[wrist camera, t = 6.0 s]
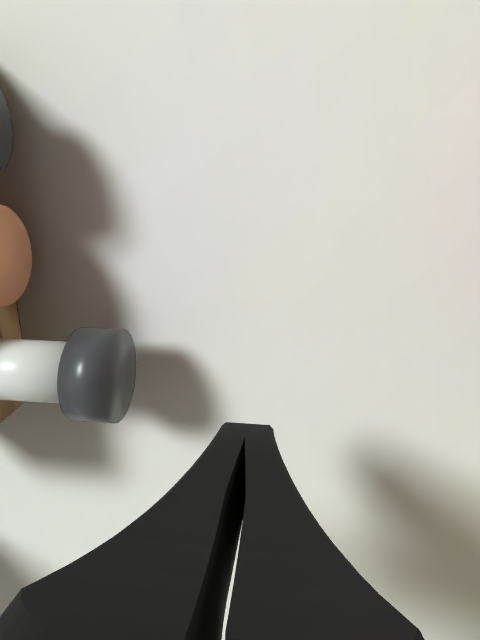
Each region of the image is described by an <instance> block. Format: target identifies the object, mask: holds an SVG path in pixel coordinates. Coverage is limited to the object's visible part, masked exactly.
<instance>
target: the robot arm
mask: <svg viewBox="0 0 480 640" xmlns="http://www.w3.org/2000/svg"><path fill="white" fill-rule="evenodd" d="M242 520H243V523H242ZM241 525H242V530H241ZM240 530H241V538H240V545H239V552H238V559H237V565H236V572H235V578H234V585H233V591H232V597H231V603H230V609H229V615H228V620H227V626H226V632H225V640H424V638H423V636H422V634H421V632H420V630H419V629H418V628H417V627H415V626H414V625H413V624H412V623H411V622H410V621H409V620H408V619H406V618H405V617H404V616H403V615H402V614H401V613H400V612H399V611H398V610H396V609H395V608H394V607H393V606H392V605H391V604H390V603H389V602H387V601H386V600H385V599H384V598H383V597H382V596H381V595H380V594H378V592H377V591H376V590H375V589H374V588H373V587H372V586H371V585H370V584H369V583H368V582H367V581H366V580H365V579H364V578H363V577H362V576H361V575H360V574H359V573H358V572H357V570H356V569H355V568H354V567H353V566H352V565H351V563H350V562H349V561H348V560H347V559H346V558H345V557H344V555H343V554H342V553H341V552H340V551H339V550H338V548H337V547H336V546H335V545H334V544H333V542H332V541H331V540H330V538H329V537H328V536H327V534H326V533H325V532H324V530H323V529H322V528H321V526H320V525H319V524H318V522H317V521H316V519H315V518H314V516H313V515H312V513H311V512H310V510H309V509H308V507H307V505H306V504H305V502H304V501H303V499H302V497H301V495H300V494H299V492H298V490H297V488H296V487H295V485H294V483H293V481H292V479H291V477H290V475H289V473H288V471H287V468H286V466H285V464H284V462H283V460H282V457H281V455H280V452H279V450H278V447H277V444H276V441H275V437H274V432H273V429H272V427H271V426H270V425H259V424H244V423H228V422H226V423H224V424H223V425H222V426H221V428H220V430H219V431H218V433H217V434H216V436H215V437H214V439H213V440H212V441H211V443H210V444H209V446H208V447H207V448H206V450H205V451H204V452H203V453H202V455H201V456H200V457H199V458H198V459H197V461H196V462H195V463H194V464H193V466H192V467H191V468H190V469H189V470H188V471H187V472H186V473H185V474H184V476H183V477H182V478H181V479H180V480H179V481H178V482H177V483H176V484H175V485H174V486H173V487H172V488H171V489H170V490H169V491H168V492H167V493H166V494H165V495H164V496H163V497H162V498H161V499H160V500H159V501H158V502H157V503H155V504H154V505H153V506H152V507H151V508H150V509H149V510H147V511H146V512H145V513H144V514H143V515H141V516H140V517H139V518H137V519H136V520H135V521H134V522H132V523H131V524H130V525H129V526H127V527H126V528H125V529H123V530H122V531H121V532H119V533H118V534H117V535H115V536H114V537H112V538H111V539H109V540H108V541H106V542H105V543H103V544H102V545H100V546H99V547H97V548H95V549H94V550H92V551H91V552H89V553H87V554H86V555H84V556H82V557H81V558H79V559H77V560H76V561H74V562H72V563H70V564H69V565H67V566H65V567H63V568H61V569H59V570H57V571H55V572H53V573H51V574H50V575H48V576H46V577H44V578H42V579H40V580H38V581H36V582H34V583H32V584H30V585H28V586H26V587H24V588H22V589H21V590H20V591H19V593H18V594H17V596H16V597H15V598H14V600H13V601H12V602H11V603H10V605H9V606H8V607H7V609H6V610H5V611H4V612H3V614H2V615H1V617H0V640H221V639H222V629H223V621H224V614H225V608H226V601H227V596H228V591H229V586H230V581H231V576H232V571H233V566H234V561H235V556H236V550H237V545H238V540H239V535H240Z"/></svg>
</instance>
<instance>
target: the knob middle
mask: <svg viewBox="0 0 480 640" xmlns="http://www.w3.org/2000/svg"><path fill="white" fill-rule="evenodd" d="M31 269H32V250H31V244H30V240H29V236H28V233H27V231H26V228H25V226H24V224H23V223H22V221H21V219H20V218H19V217H18V216H17V214H16V213H15V212H14V211H12V210H11V209H10V208H8V207H6V206H4V205H0V306H7V305H10V304H12V303H14V302H15V301H17V300H18V299H19V298H20V297H21V296H22V294H23V293H24V291H25V289H26V287H27V285H28V282H29V279H30V275H31Z"/></svg>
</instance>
